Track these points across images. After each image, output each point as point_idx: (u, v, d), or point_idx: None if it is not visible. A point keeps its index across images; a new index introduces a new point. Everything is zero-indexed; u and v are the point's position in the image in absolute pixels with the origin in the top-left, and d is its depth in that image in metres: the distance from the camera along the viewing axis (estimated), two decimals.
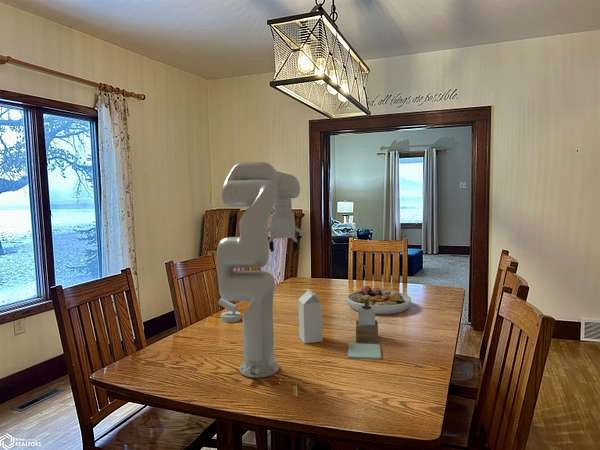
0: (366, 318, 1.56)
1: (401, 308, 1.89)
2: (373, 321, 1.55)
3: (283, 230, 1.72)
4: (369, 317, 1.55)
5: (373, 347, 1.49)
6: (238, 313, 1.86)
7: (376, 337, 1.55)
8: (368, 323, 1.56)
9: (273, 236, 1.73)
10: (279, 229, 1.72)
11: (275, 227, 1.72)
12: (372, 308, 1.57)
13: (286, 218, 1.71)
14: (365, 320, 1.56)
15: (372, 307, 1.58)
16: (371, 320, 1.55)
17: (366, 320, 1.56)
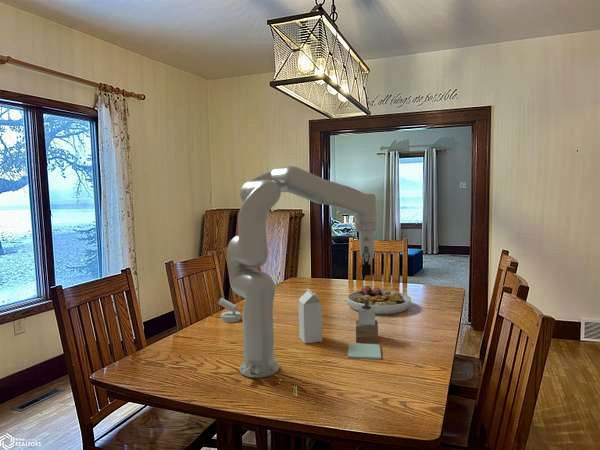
0: (366, 318, 1.56)
1: (401, 308, 1.89)
2: (373, 321, 1.55)
3: None
4: (369, 317, 1.55)
5: (373, 347, 1.49)
6: (238, 313, 1.86)
7: (376, 337, 1.55)
8: (368, 323, 1.56)
9: (373, 256, 1.53)
10: None
11: None
12: (372, 308, 1.57)
13: None
14: (365, 320, 1.56)
15: (372, 307, 1.58)
16: (371, 320, 1.55)
17: (366, 320, 1.56)
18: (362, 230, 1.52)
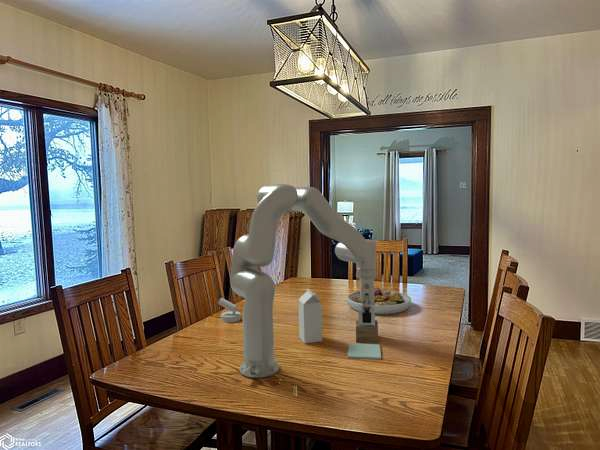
0: None
1: (401, 308, 1.89)
2: (373, 321, 1.55)
3: None
4: None
5: (373, 347, 1.49)
6: (238, 313, 1.86)
7: (376, 337, 1.55)
8: (368, 323, 1.56)
9: None
10: None
11: None
12: (372, 308, 1.57)
13: None
14: None
15: (372, 307, 1.58)
16: (371, 320, 1.55)
17: None
18: (363, 277, 1.54)
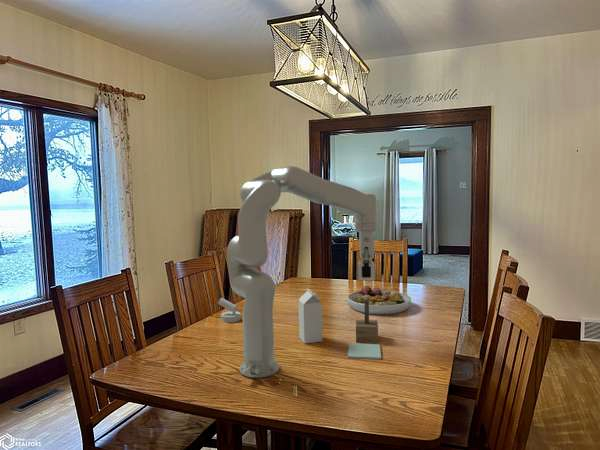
0: None
1: (401, 308, 1.89)
2: (373, 276, 1.54)
3: None
4: None
5: (373, 347, 1.49)
6: (238, 313, 1.86)
7: (376, 337, 1.55)
8: (368, 278, 1.54)
9: (373, 257, 1.52)
10: None
11: None
12: (372, 263, 1.55)
13: None
14: None
15: (372, 262, 1.57)
16: (371, 275, 1.54)
17: None
18: (362, 230, 1.52)
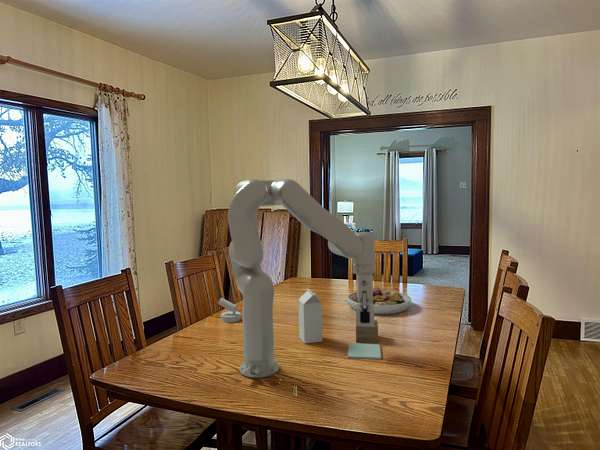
0: None
1: (401, 308, 1.89)
2: (372, 321, 1.42)
3: None
4: None
5: (373, 347, 1.49)
6: (238, 313, 1.86)
7: (376, 337, 1.55)
8: (367, 323, 1.43)
9: (372, 301, 1.41)
10: None
11: (372, 289, 1.42)
12: (371, 307, 1.44)
13: None
14: None
15: (371, 305, 1.45)
16: (370, 320, 1.42)
17: None
18: (360, 273, 1.41)
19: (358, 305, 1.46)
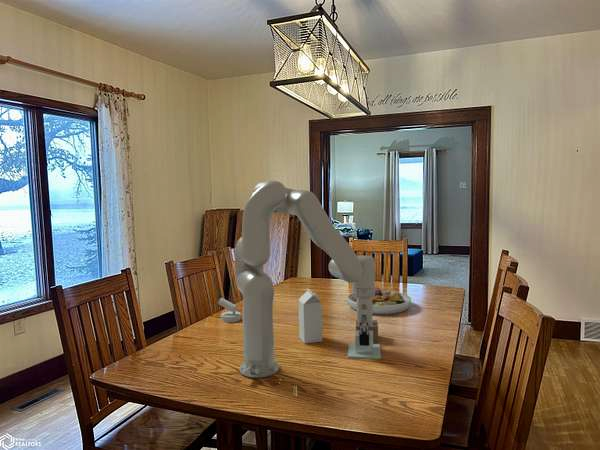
0: None
1: (401, 308, 1.89)
2: (371, 348, 1.43)
3: None
4: None
5: (373, 347, 1.49)
6: (238, 313, 1.86)
7: (376, 337, 1.55)
8: (366, 351, 1.43)
9: (372, 325, 1.42)
10: None
11: None
12: (370, 334, 1.45)
13: None
14: (362, 347, 1.43)
15: (370, 333, 1.46)
16: (369, 347, 1.43)
17: (363, 347, 1.43)
18: (360, 296, 1.42)
19: (357, 332, 1.47)
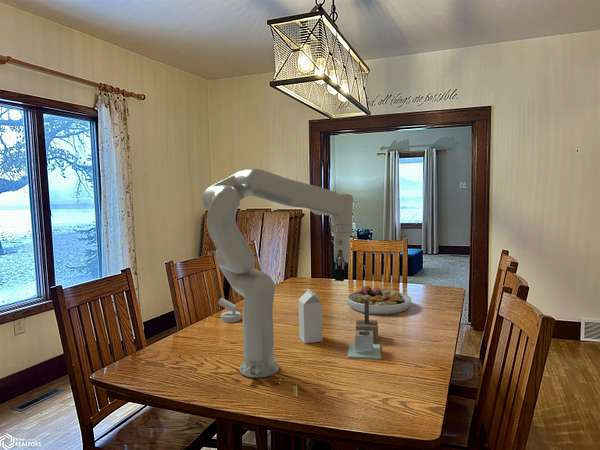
0: (363, 345, 1.43)
1: (401, 308, 1.89)
2: (371, 348, 1.43)
3: (349, 252, 1.47)
4: (366, 344, 1.43)
5: (373, 347, 1.49)
6: (238, 313, 1.86)
7: (376, 337, 1.55)
8: (366, 351, 1.43)
9: (348, 261, 1.43)
10: None
11: (348, 250, 1.44)
12: (370, 334, 1.45)
13: None
14: (362, 347, 1.43)
15: (370, 333, 1.46)
16: (369, 347, 1.43)
17: (363, 347, 1.43)
18: (337, 232, 1.43)
19: (357, 332, 1.47)
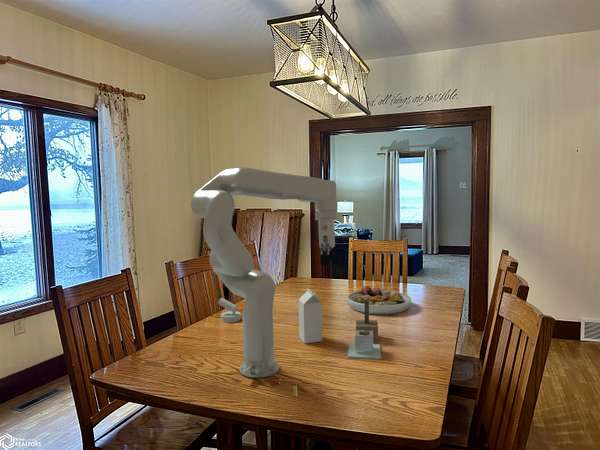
0: (363, 345, 1.43)
1: (401, 308, 1.89)
2: (371, 348, 1.43)
3: (334, 238, 1.49)
4: (366, 344, 1.43)
5: (373, 347, 1.49)
6: (238, 313, 1.86)
7: (376, 337, 1.55)
8: (366, 351, 1.43)
9: (333, 246, 1.45)
10: None
11: (333, 235, 1.46)
12: (370, 334, 1.45)
13: None
14: (362, 347, 1.43)
15: (370, 333, 1.46)
16: (369, 347, 1.43)
17: (363, 347, 1.43)
18: (321, 218, 1.45)
19: (357, 332, 1.47)
